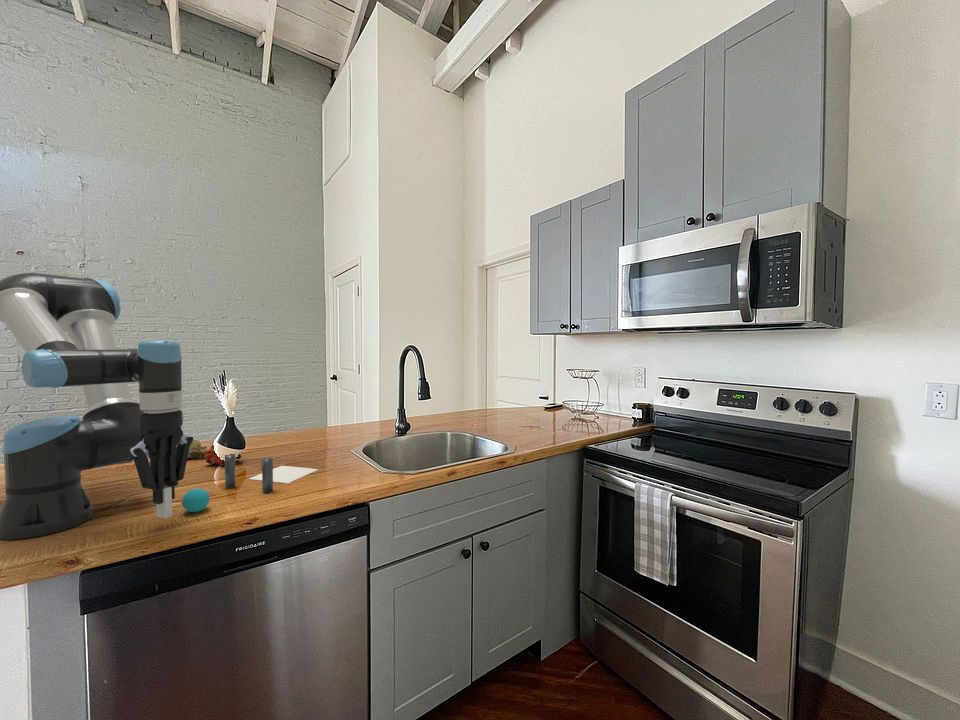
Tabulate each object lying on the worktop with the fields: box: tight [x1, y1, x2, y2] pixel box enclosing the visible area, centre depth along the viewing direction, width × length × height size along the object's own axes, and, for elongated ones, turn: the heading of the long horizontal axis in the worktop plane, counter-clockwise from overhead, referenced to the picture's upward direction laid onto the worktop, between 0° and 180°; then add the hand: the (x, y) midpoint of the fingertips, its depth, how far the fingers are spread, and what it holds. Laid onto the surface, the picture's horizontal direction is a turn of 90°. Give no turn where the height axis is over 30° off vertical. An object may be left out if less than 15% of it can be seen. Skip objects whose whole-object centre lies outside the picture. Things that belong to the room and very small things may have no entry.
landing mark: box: [248, 465, 319, 485], centre depth 131 cm, size 14×14×1 cm
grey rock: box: [177, 437, 208, 460], centre depth 148 cm, size 11×9×15 cm
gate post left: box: [224, 454, 237, 490], centre depth 119 cm, size 3×3×9 cm
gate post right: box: [261, 457, 274, 494], centre depth 115 cm, size 3×3×9 cm
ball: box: [181, 487, 211, 513], centre depth 102 cm, size 6×6×6 cm
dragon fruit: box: [200, 444, 242, 467], centre depth 141 cm, size 8×8×12 cm
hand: (164, 516), depth 94 cm, fingers closed
